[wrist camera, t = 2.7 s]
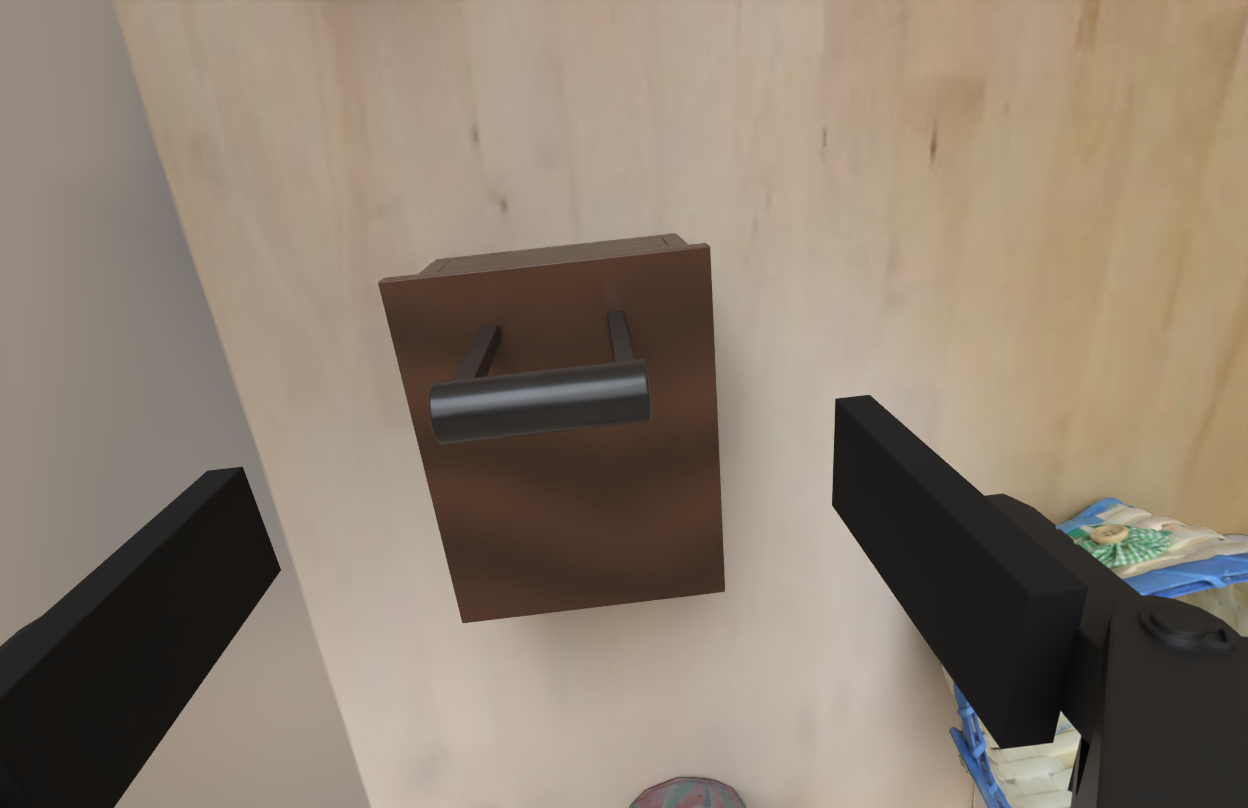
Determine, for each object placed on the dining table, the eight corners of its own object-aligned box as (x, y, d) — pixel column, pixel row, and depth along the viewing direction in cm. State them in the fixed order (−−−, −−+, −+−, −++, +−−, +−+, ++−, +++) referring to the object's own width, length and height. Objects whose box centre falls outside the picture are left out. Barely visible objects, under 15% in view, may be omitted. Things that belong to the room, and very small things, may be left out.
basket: (1139, 421, 40) (1801, 752, 18) (1171, 604, 46) (1698, 1016, 24) (831, 553, 42) (1094, 983, 21) (900, 711, 48) (1159, 1173, 27)
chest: (435, 259, 34) (388, 297, 25) (676, 233, 34) (707, 262, 26) (489, 514, 40) (465, 611, 31) (692, 490, 40) (721, 581, 32)
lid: (383, 277, 25) (275, 353, 16) (706, 242, 25) (774, 297, 16) (465, 612, 31) (419, 797, 23) (721, 581, 32) (776, 752, 23)
